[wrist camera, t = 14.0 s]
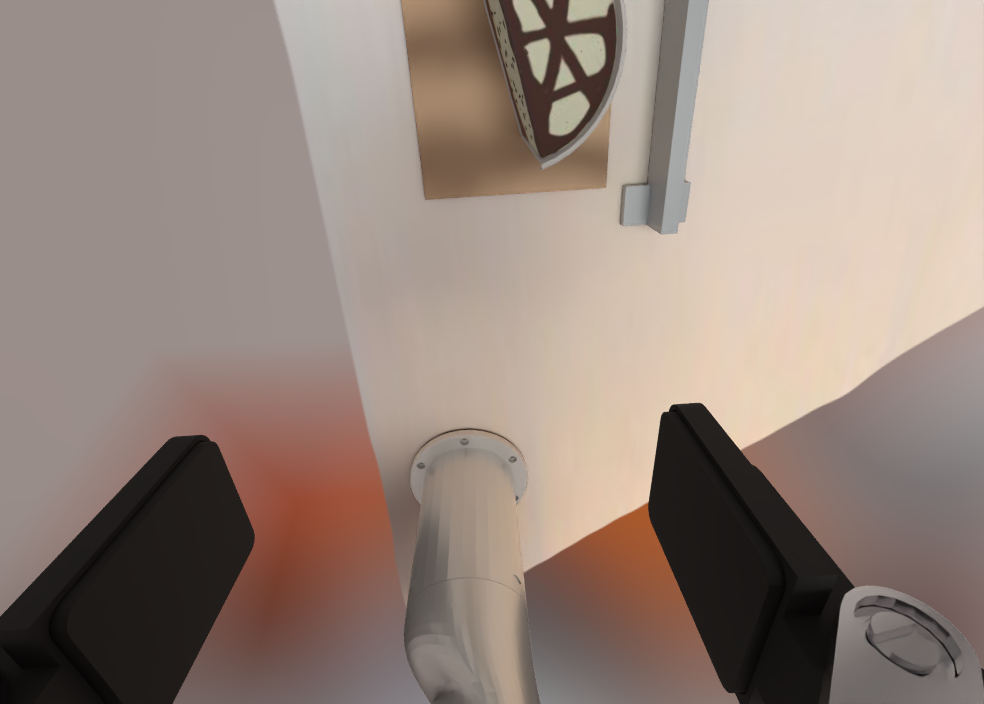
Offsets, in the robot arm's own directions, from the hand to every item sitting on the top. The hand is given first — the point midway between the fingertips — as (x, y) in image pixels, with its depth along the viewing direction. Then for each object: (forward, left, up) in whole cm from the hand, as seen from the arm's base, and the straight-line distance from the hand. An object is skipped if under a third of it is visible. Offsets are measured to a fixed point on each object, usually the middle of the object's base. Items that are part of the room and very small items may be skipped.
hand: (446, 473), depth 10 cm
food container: (+10, -6, -29) cm, 32 cm away
